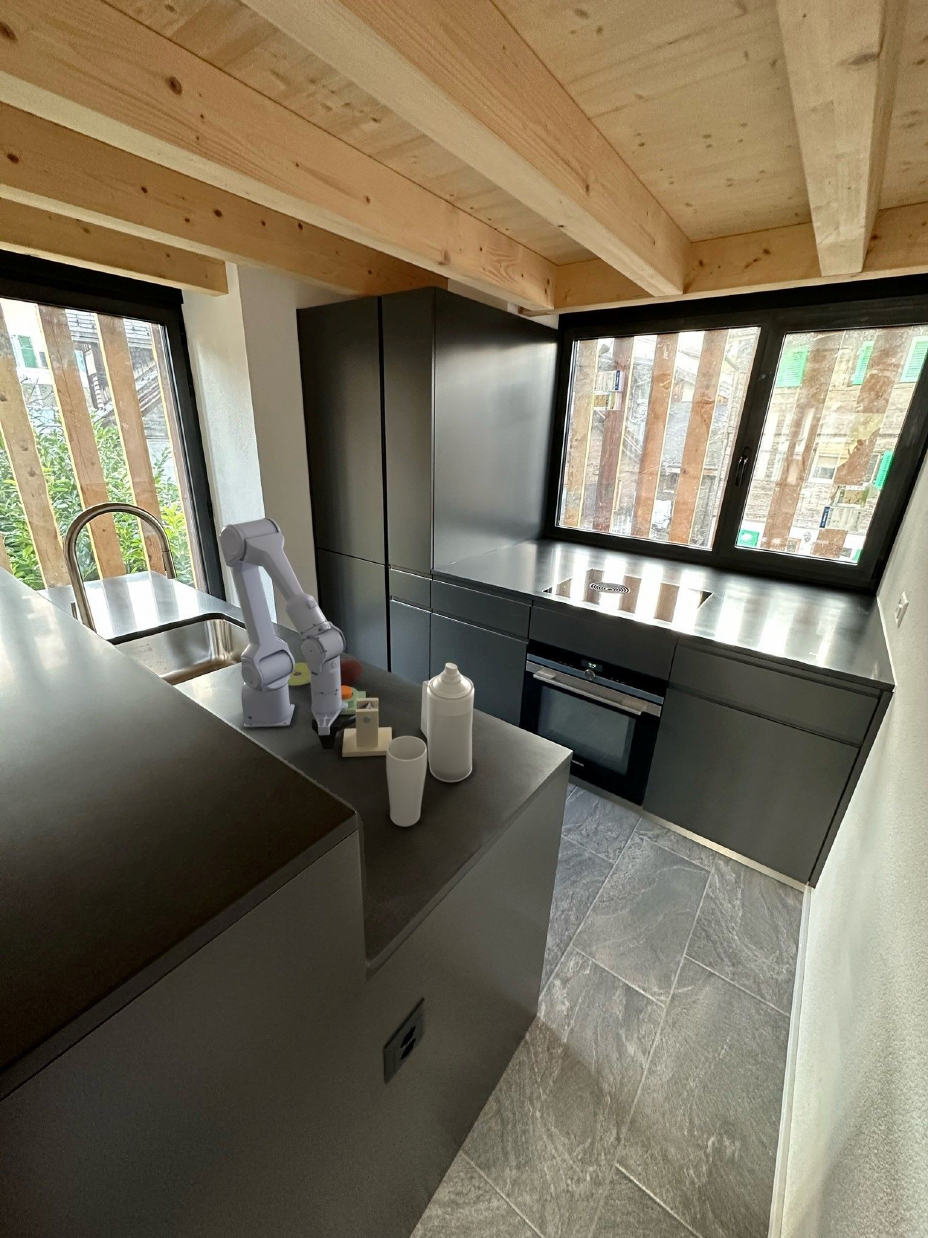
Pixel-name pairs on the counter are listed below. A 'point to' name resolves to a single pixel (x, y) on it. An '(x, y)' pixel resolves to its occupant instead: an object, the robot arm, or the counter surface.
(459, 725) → the spray can
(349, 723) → the lever
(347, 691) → the button
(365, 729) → the bracket
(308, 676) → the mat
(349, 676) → the potato
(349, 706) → the control block
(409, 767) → the drinking glass
